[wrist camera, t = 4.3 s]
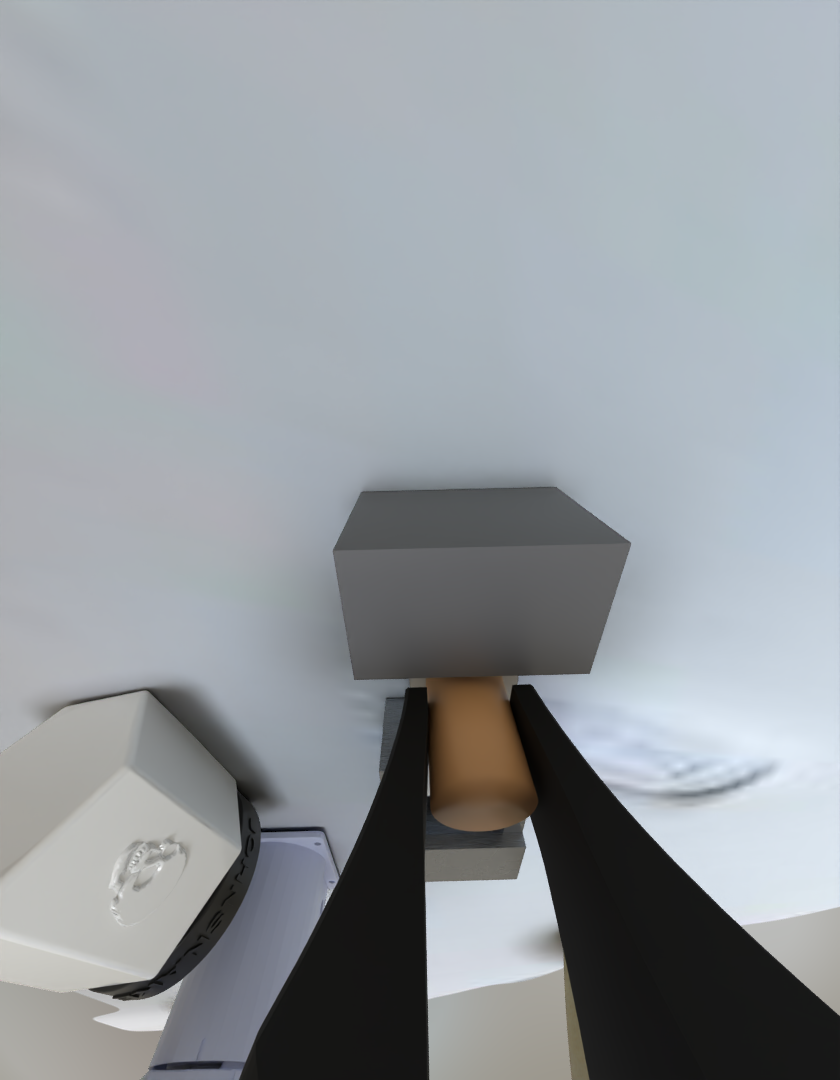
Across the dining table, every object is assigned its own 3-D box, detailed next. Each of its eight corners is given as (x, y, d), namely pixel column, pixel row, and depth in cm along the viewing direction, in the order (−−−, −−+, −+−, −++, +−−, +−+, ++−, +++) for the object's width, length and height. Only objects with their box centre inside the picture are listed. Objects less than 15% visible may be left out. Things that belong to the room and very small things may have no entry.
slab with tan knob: (485, 732, 18) (521, 912, 12) (415, 734, 18) (415, 915, 12) (510, 523, 12) (608, 668, 6) (406, 525, 12) (397, 674, 6)
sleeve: (497, 801, 22) (514, 886, 18) (396, 803, 22) (393, 889, 18) (516, 695, 17) (544, 782, 13) (385, 698, 17) (377, 787, 13)
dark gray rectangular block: (538, 587, 14) (589, 673, 10) (372, 591, 14) (354, 680, 10) (556, 487, 12) (631, 543, 8) (361, 492, 12) (332, 550, 8)
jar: (186, 714, 14) (294, 824, 20) (113, 668, 18) (222, 771, 24) (-182, 1061, 8) (141, 1074, 13) (-169, 869, 11) (75, 944, 17)
